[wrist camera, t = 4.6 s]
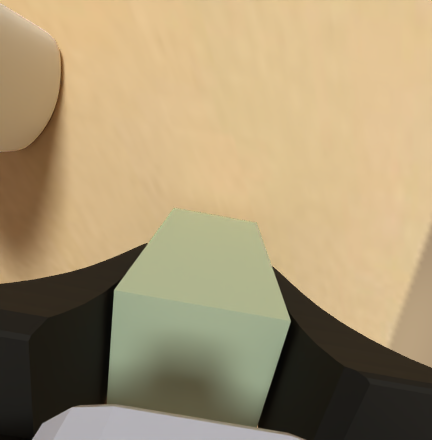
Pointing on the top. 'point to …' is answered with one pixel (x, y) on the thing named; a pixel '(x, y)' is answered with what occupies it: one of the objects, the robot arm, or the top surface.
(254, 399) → the pale green block
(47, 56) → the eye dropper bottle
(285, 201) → the top surface
